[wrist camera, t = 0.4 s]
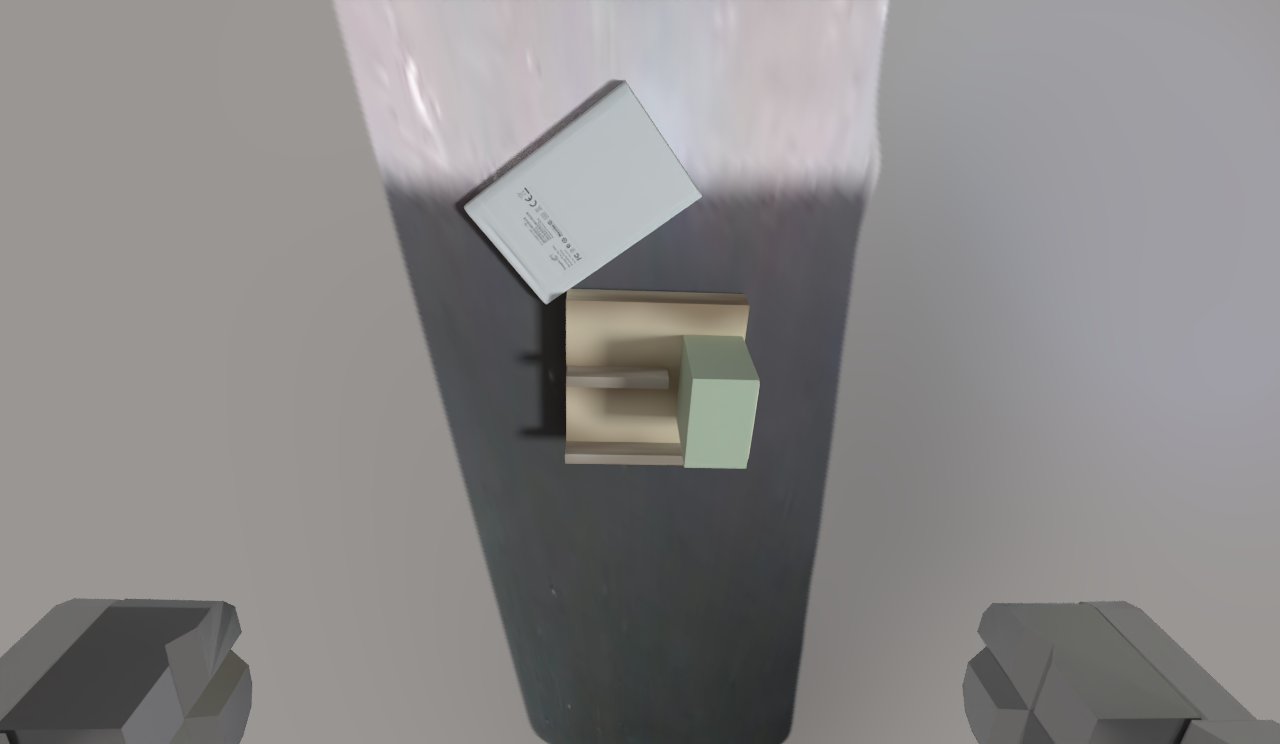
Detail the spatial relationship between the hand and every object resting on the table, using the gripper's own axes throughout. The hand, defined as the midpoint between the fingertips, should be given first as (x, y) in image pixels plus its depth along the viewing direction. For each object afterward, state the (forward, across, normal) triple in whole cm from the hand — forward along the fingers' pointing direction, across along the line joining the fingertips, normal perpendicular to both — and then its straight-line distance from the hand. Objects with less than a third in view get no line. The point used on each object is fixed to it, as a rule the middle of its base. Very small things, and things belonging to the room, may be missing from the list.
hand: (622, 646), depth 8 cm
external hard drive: (+40, +1, +1) cm, 40 cm away
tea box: (+38, -8, +13) cm, 41 cm away
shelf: (+40, -4, +12) cm, 42 cm away
